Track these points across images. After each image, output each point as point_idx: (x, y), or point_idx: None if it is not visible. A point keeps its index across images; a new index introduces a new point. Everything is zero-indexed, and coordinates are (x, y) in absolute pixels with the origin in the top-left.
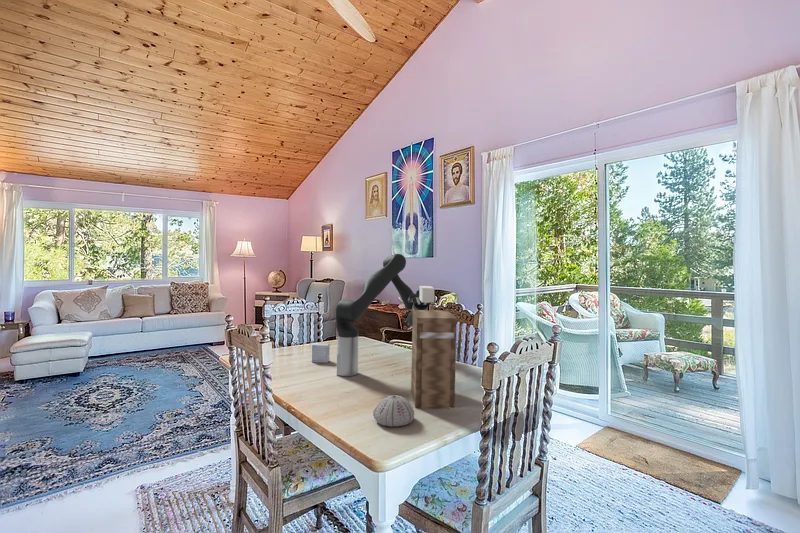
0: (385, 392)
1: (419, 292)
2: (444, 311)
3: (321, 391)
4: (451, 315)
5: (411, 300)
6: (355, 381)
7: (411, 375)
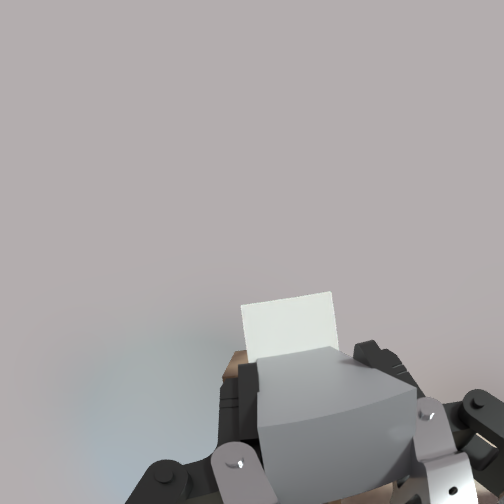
0: (390, 496)
1: (337, 343)
2: (237, 369)
3: (490, 444)
4: (236, 356)
5: (489, 475)
6: (482, 497)
7: (340, 500)
